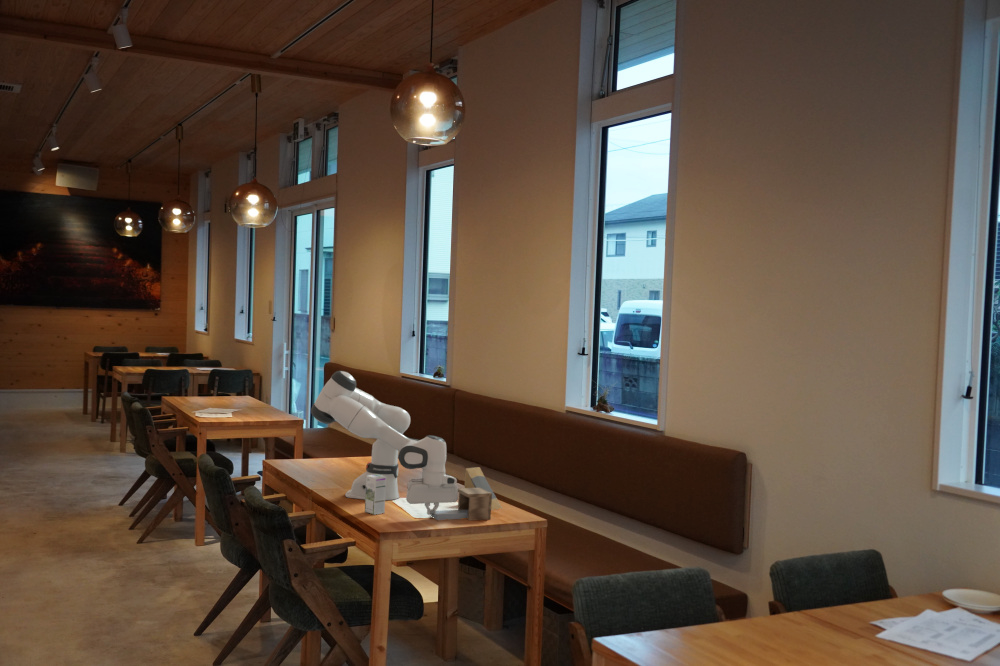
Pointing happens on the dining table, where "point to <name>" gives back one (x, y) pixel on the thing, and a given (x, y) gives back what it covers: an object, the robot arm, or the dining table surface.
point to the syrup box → (375, 494)
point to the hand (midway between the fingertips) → (431, 514)
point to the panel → (451, 514)
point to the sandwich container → (480, 484)
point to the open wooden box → (475, 503)
